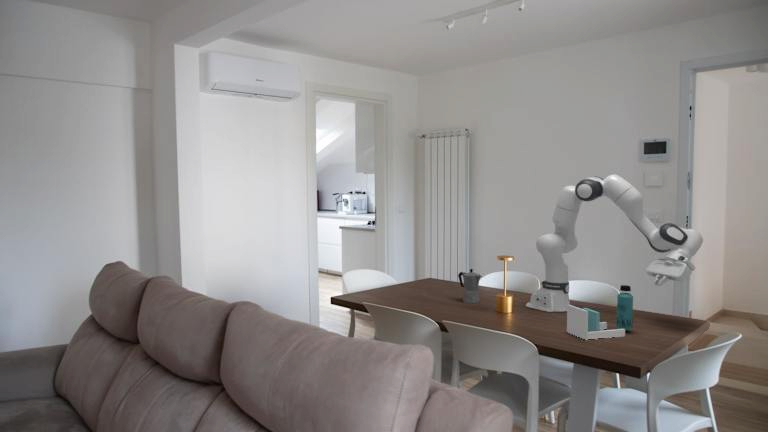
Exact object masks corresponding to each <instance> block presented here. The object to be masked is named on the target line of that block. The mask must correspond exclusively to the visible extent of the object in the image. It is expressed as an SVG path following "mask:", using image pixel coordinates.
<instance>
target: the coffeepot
mask: <svg viewBox="0 0 768 432" xmlns="http://www.w3.org/2000/svg"><path fill="white" fill-rule="evenodd" d="M473 270H474V269H472V268H471V269H469V272H463V271H460V272H459V273H458V274H457V277H458V280H459V285H460V287H462V288H465V289H464V292H463V298H462V302H463V303H464V304H465V303H466V304H478V303H480V301H481V300H480V293H479V290H478V289H479V288H478V287H479V285H480V280H481V278H482V275H481V274H480V273H476V272H474V271H473ZM462 278H463V279H462Z"/></svg>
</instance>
